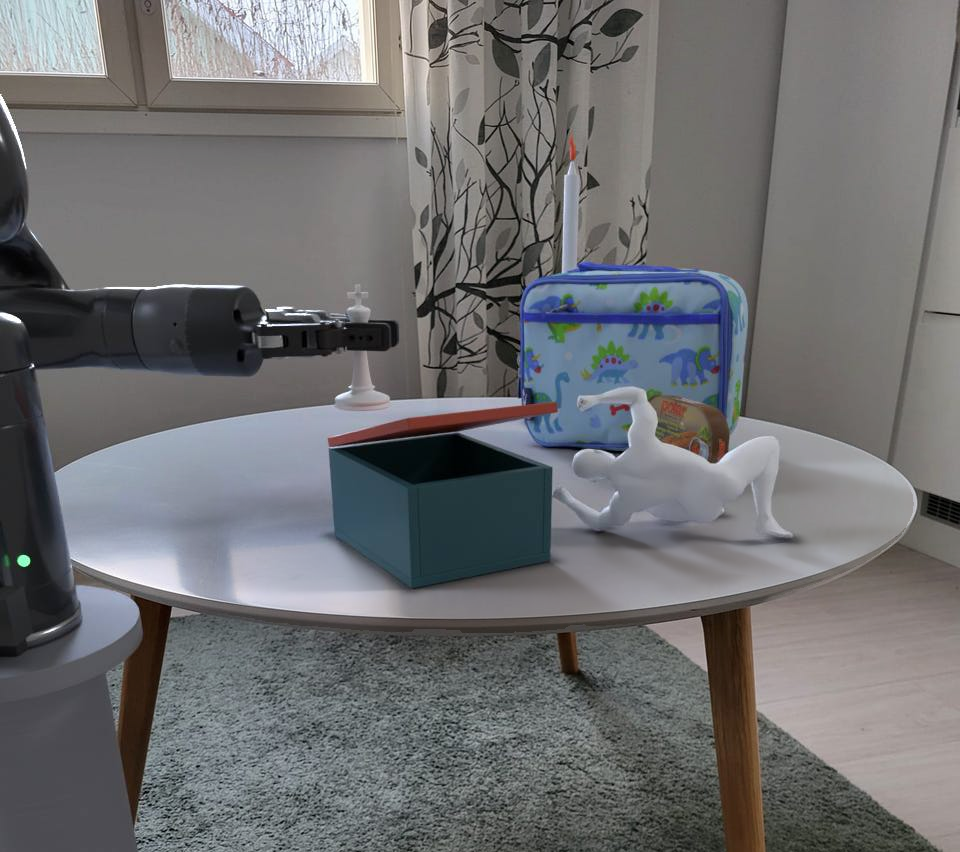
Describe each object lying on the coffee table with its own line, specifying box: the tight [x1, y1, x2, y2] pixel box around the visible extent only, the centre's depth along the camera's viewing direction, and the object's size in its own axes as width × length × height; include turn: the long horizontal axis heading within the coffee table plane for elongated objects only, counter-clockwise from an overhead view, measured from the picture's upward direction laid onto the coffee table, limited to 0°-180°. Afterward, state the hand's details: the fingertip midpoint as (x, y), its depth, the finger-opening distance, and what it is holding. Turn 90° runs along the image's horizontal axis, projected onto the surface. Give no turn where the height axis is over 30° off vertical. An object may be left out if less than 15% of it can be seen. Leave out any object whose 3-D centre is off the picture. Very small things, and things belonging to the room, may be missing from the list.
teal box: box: [328, 432, 554, 589], centre depth 80 cm, size 16×13×8 cm
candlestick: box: [561, 133, 581, 273], centre depth 124 cm, size 11×11×35 cm
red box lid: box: [327, 402, 558, 448], centre depth 78 cm, size 17×13×1 cm
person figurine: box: [552, 386, 794, 539], centre depth 83 cm, size 13×13×18 cm
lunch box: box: [516, 260, 749, 452], centre depth 113 cm, size 26×11×21 cm, turn 62°
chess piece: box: [333, 283, 392, 412], centre depth 82 cm, size 5×5×10 cm
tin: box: [648, 394, 731, 464], centre depth 101 cm, size 15×3×8 cm, turn 19°
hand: (393, 335), depth 82 cm, fingers closed on chess piece
